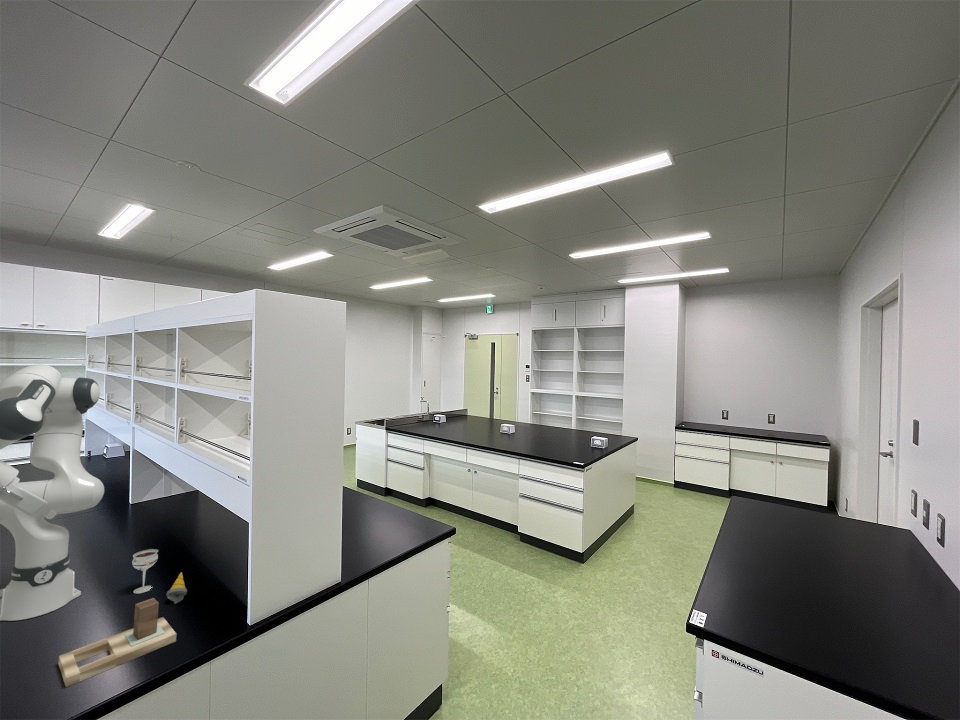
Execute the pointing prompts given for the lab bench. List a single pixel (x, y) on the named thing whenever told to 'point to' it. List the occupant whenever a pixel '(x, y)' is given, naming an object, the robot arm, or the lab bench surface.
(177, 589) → the ice cream cone
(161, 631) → the puzzle board
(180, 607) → the lab bench surface
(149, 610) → the walnut peg
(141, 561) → the wineglass
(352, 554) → the lab bench surface
